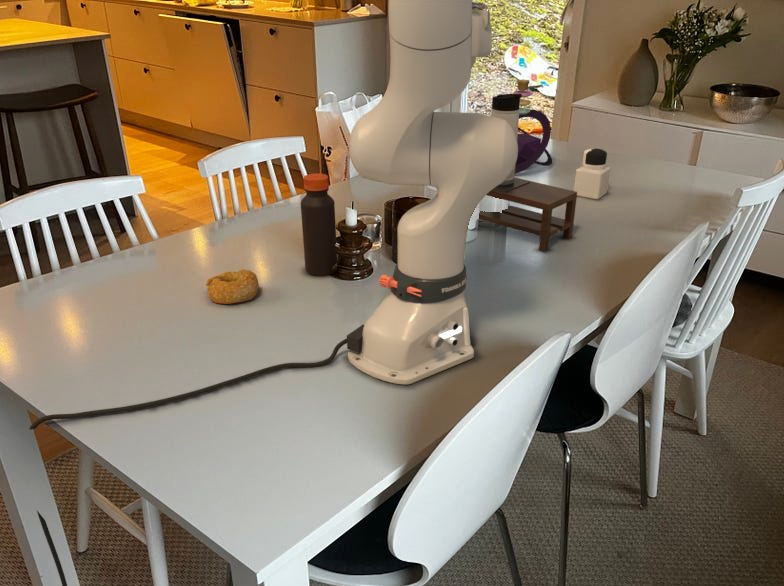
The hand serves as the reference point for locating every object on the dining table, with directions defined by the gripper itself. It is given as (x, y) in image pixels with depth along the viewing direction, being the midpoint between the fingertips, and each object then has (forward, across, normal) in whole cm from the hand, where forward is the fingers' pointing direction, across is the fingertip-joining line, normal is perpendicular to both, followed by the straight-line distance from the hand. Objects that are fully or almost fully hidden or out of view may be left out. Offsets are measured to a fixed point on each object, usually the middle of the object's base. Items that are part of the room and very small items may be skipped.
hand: (447, 76), depth 149 cm
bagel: (+37, +10, +48) cm, 61 cm away
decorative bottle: (+37, +33, -63) cm, 81 cm away
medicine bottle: (+37, +2, -58) cm, 69 cm away
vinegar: (+37, +9, +27) cm, 47 cm away
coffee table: (+37, -4, -21) cm, 43 cm away
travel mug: (+26, +1, -20) cm, 33 cm away
